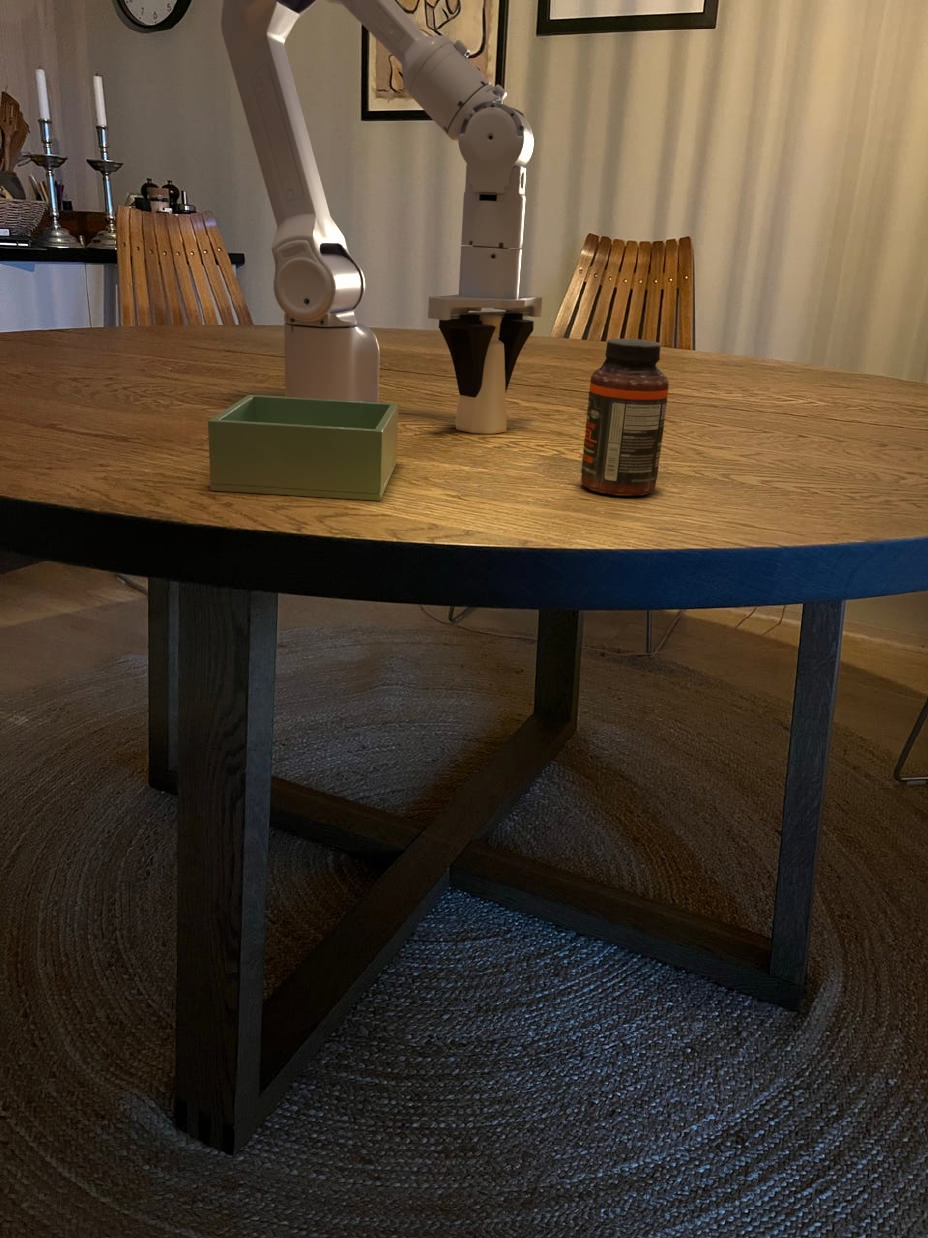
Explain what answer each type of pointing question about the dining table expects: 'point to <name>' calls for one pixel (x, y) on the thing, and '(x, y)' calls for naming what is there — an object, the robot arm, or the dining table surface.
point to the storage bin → (304, 447)
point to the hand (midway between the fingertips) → (482, 394)
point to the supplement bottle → (625, 420)
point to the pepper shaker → (487, 390)
